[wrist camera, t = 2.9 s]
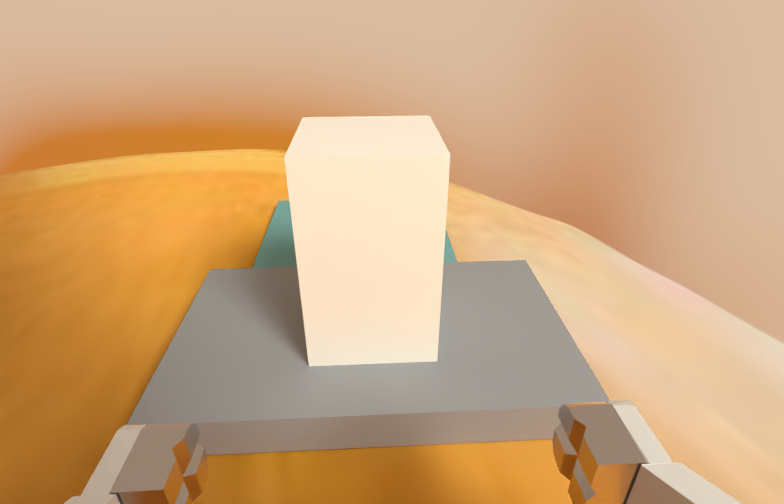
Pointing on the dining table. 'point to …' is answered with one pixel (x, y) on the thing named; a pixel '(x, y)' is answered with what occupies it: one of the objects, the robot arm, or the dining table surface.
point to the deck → (367, 369)
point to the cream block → (369, 236)
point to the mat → (282, 248)
